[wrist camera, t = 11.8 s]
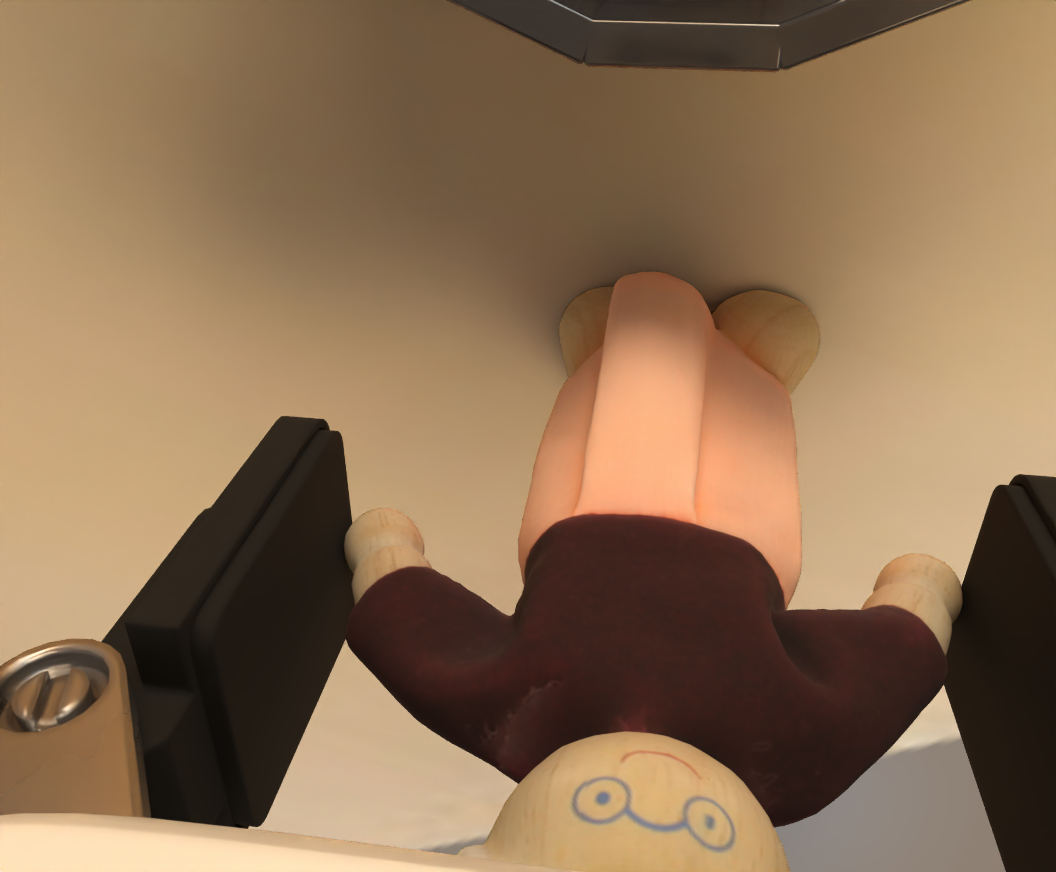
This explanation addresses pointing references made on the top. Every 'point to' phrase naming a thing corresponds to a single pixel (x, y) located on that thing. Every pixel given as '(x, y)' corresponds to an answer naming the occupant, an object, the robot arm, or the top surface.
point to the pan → (701, 29)
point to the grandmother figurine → (658, 607)
